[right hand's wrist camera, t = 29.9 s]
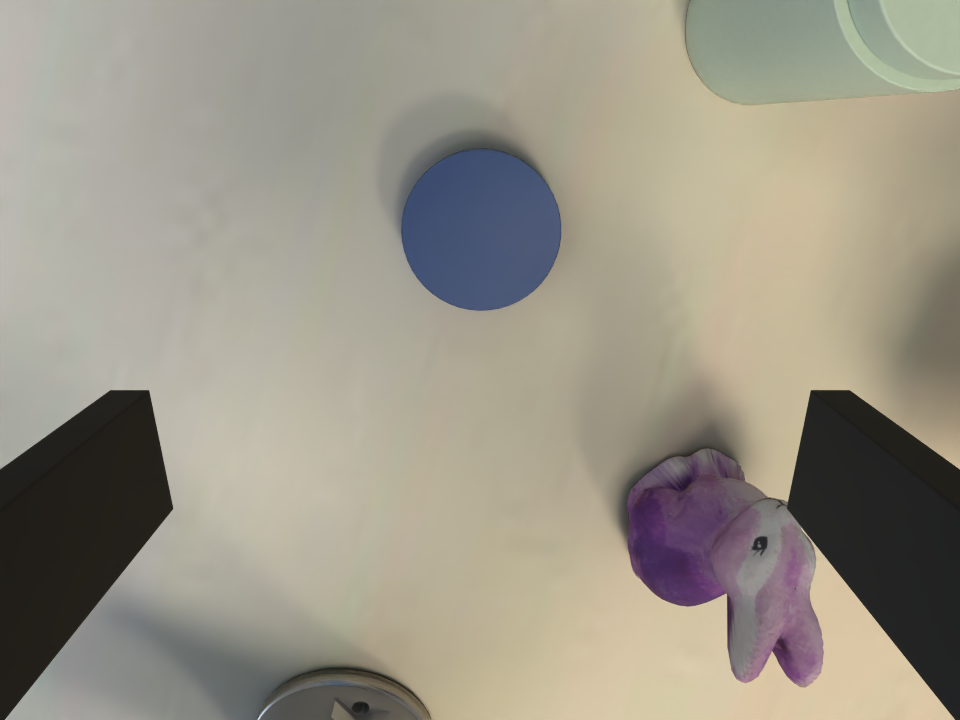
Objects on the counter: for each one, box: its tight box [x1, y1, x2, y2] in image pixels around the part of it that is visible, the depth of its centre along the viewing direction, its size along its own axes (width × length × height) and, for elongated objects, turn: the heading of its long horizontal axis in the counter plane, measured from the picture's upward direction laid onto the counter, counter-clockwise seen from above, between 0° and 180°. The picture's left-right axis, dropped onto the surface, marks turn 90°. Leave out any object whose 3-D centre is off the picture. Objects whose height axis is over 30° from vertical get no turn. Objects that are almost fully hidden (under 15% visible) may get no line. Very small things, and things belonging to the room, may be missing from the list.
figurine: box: [627, 448, 824, 688], centre depth 38 cm, size 9×10×15 cm
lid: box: [401, 148, 561, 310], centre depth 38 cm, size 9×9×2 cm
